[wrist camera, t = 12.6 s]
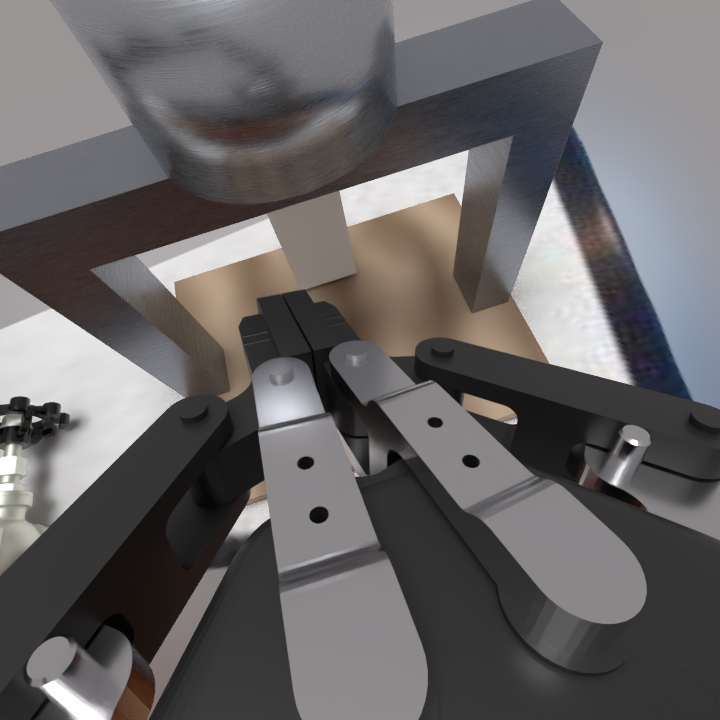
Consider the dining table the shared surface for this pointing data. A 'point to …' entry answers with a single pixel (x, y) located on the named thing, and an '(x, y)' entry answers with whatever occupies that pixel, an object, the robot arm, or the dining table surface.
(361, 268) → the track board
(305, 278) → the plug
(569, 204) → the dining table surface
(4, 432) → the valve
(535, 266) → the dining table surface
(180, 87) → the grey two-legged stand
